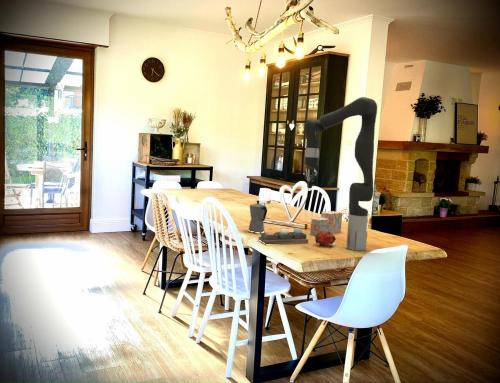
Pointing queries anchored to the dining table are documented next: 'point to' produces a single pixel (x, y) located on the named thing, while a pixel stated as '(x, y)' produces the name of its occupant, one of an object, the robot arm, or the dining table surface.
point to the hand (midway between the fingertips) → (309, 188)
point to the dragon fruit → (324, 238)
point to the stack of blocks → (327, 223)
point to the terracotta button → (269, 233)
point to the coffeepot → (257, 217)
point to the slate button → (297, 231)
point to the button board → (284, 238)
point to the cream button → (283, 231)
